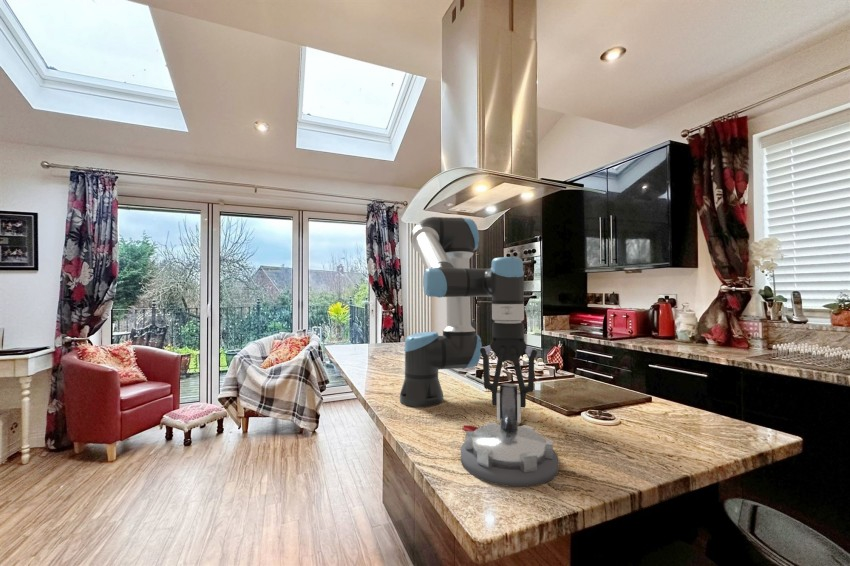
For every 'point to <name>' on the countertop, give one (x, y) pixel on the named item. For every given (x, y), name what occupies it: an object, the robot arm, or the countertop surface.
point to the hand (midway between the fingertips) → (508, 419)
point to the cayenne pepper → (469, 428)
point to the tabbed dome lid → (509, 439)
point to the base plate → (510, 471)
